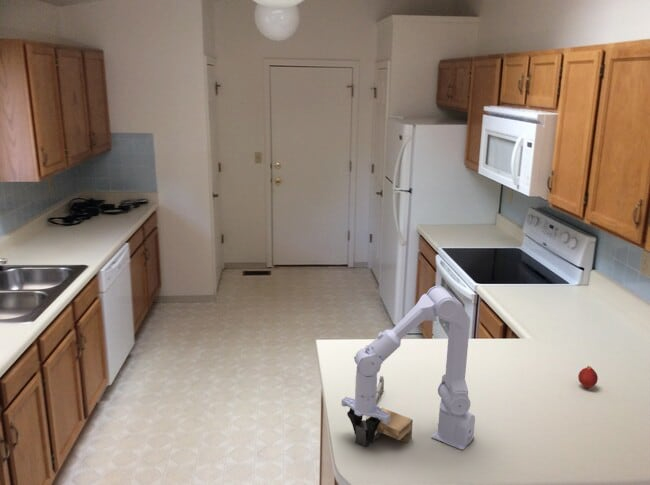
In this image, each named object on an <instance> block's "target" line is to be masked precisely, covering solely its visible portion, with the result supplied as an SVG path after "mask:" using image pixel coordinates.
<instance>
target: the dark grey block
mask: <svg viewBox="0 0 650 485" xmlns="http://www.w3.org/2000/svg"><path fill="white" fill-rule="evenodd" d="M367 432H368V431H367V425H366V419H362V421H361V422H360V423H358V424H357V425H356V434H355V433H354V436H355V438H354V441H355V442H354V443H355V444H357V445H359V446H361V447H363V448H365V449H366V448H367V447H369V446H370V445H371V444H372V443H373V442H374V440H376V439H377V438H379V437H380V436H381V435H382V433H381V432H379V431H376V432H375V435H374V439H372V440H371V441H368V439H367Z"/></svg>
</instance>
